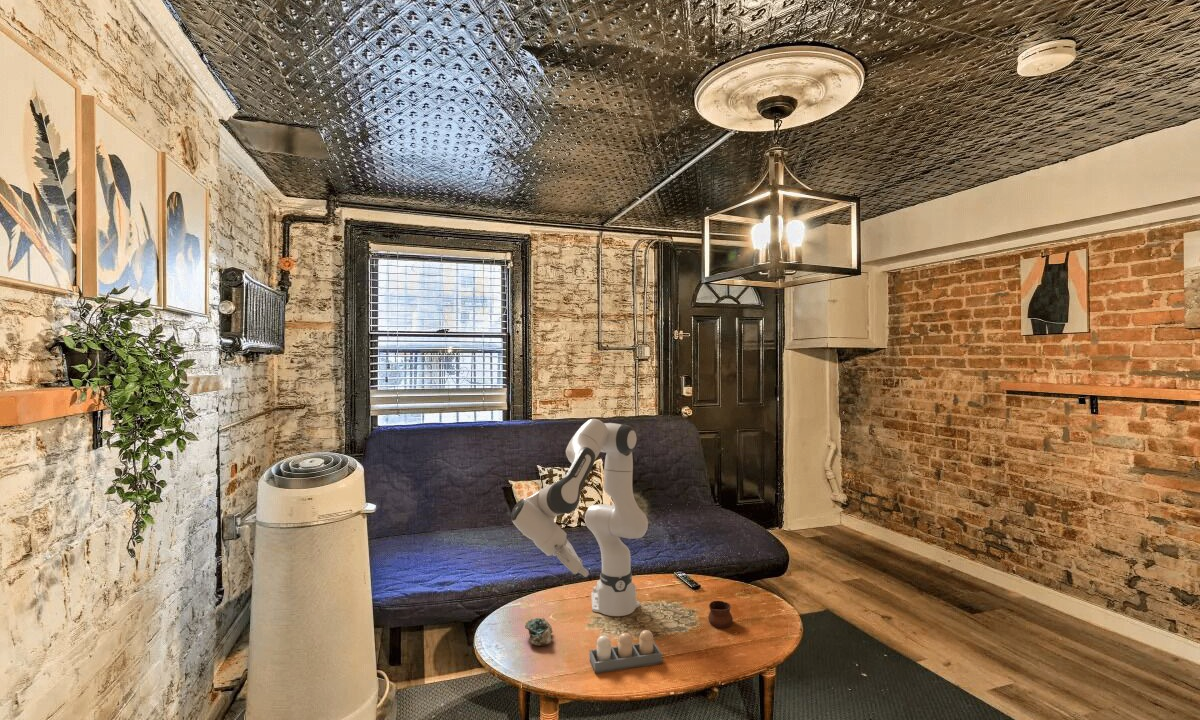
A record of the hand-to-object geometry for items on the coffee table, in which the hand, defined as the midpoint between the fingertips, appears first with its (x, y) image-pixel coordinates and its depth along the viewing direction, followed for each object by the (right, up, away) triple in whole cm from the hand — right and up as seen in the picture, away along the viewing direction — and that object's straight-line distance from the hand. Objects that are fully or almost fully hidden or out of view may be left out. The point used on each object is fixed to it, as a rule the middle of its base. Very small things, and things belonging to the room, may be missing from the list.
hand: (583, 568), depth 174 cm
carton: (+13, -29, 0) cm, 32 cm away
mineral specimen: (-15, -30, +13) cm, 36 cm away
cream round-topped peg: (+6, -29, -2) cm, 29 cm away
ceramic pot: (+49, -29, +24) cm, 62 cm away
